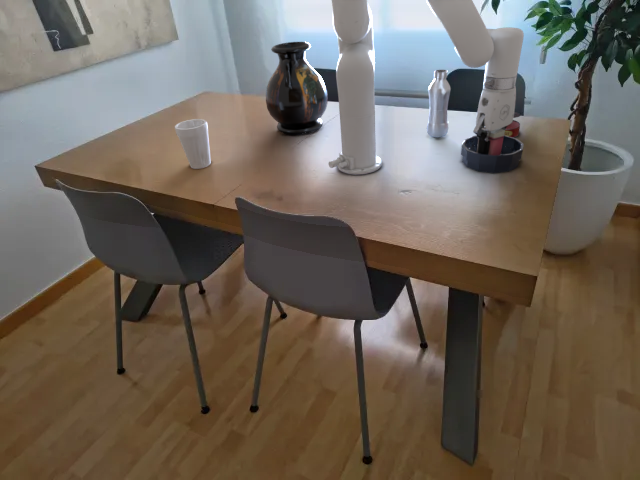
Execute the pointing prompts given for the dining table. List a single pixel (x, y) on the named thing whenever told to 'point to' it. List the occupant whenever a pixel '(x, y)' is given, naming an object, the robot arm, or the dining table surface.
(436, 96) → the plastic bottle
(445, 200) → the dining table surface
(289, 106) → the amphora vase
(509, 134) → the canned food
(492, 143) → the small box
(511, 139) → the ring
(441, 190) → the dining table surface
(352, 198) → the dining table surface
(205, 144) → the foam cup
